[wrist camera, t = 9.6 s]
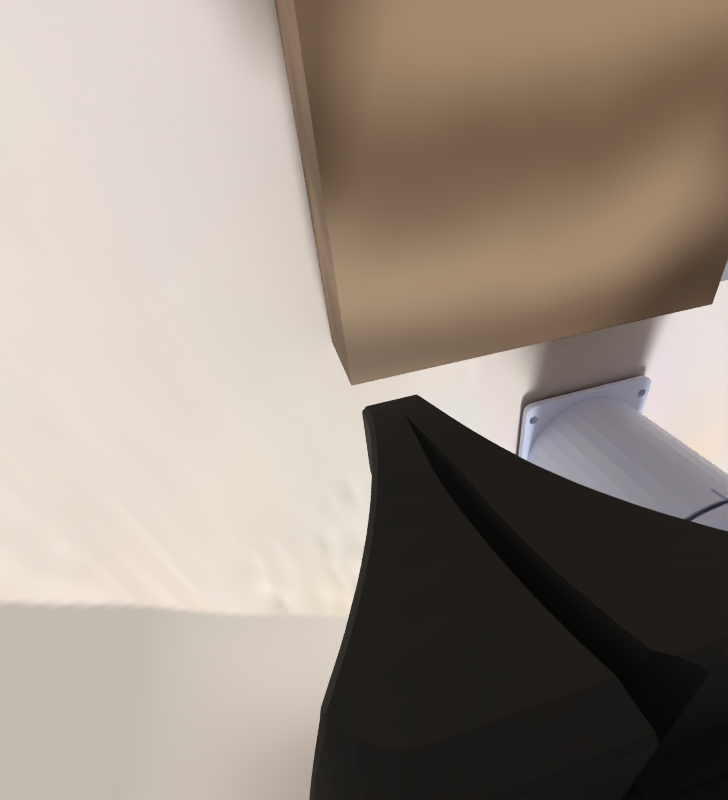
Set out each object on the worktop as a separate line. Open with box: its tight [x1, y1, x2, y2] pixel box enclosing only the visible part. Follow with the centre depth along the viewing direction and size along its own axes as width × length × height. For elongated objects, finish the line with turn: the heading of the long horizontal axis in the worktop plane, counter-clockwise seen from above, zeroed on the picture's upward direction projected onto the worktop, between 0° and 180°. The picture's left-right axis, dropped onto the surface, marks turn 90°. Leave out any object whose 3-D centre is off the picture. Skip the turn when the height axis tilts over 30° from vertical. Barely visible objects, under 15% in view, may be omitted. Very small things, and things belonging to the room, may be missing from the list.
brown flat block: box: [275, 0, 728, 385], centre depth 15 cm, size 14×16×4 cm
